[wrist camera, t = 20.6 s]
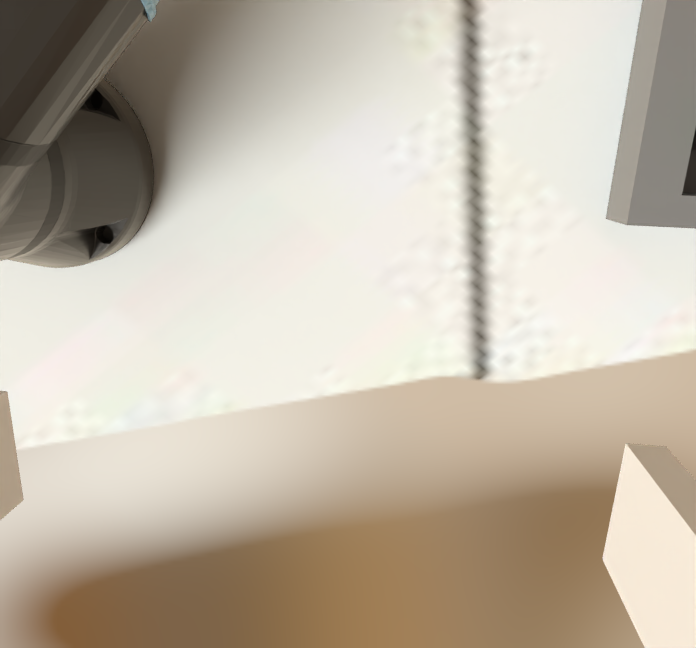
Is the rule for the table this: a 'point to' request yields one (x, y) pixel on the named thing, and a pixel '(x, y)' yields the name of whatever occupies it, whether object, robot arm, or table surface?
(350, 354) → the table surface
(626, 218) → the socket
